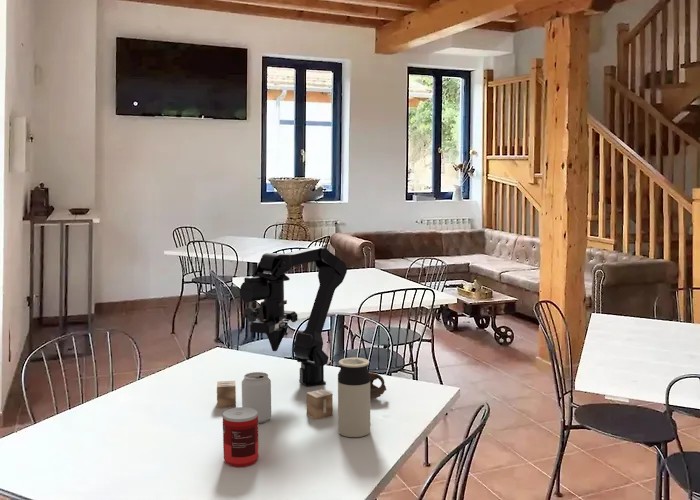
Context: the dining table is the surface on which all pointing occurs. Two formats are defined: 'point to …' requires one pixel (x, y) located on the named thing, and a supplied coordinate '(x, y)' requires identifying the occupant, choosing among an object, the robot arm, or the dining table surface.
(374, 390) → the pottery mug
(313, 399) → the marked block 2
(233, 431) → the canned food
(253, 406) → the can
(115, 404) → the dining table surface
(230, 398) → the marked block 1
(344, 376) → the travel mug
